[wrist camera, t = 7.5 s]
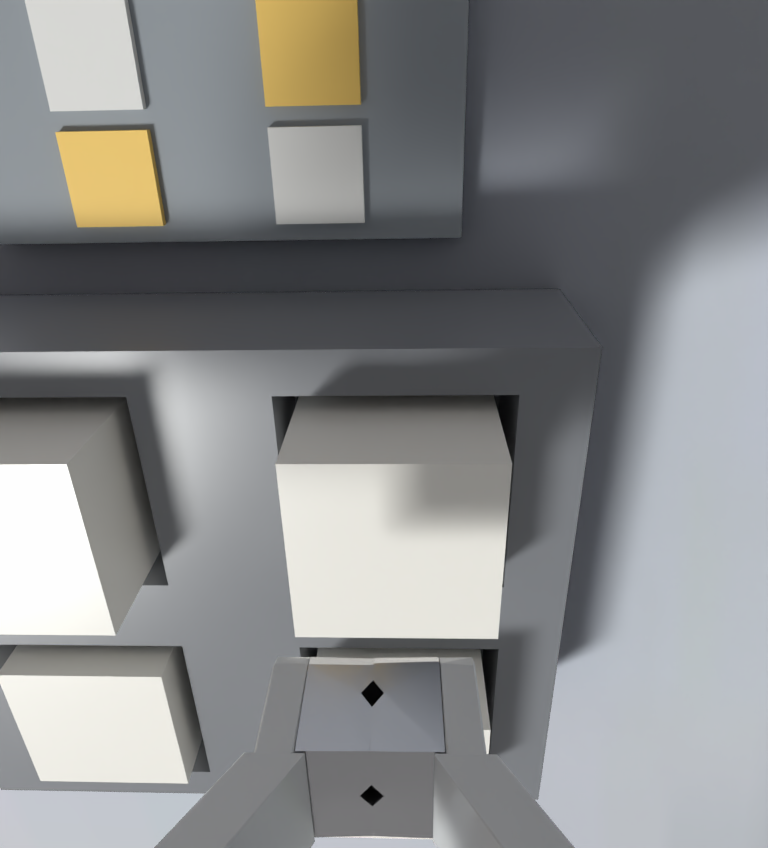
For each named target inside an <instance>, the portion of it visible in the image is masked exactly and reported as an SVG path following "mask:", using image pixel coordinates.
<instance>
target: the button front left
mask: <svg viewBox="0 0 768 848" xmlns="http://www.w3.org/2000/svg"><path fill="white" fill-rule="evenodd" d="M160 551H161V550H160V546H159V541H158V537H157V532H156V528H155V523H154V519H153V514H152V510H151V505H150V501H149V497H148V492H147V488H146V483H145V479H144V474H143V470H142V465H141V461H140V457H139V452H138V448H137V443H136V439H135V434H134V430H133V425H132V421H131V416H130V412H129V408H128V403H127V399H126V397H46V398H0V635H106V636H116V634H117V632H118V630H119V628H120V626H121V625H122V623H123V621H124V619H125V617H126V615H127V613H128V611H129V609H130V607H131V606H132V604H133V602H134V600H135V598H136V596H137V594H138V592H139V590H140V589H141V587H142V585H143V583H144V581H145V579H146V577H147V575H148V573H149V571H150V570H151V568H152V566H153V564H154V562H155V560H156V558H157V556H158V554H159V552H160Z"/></svg>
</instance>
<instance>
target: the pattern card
mask: <svg viewBox="0 0 768 848" xmlns="http://www.w3.org/2000/svg"><path fill="white" fill-rule="evenodd" d="M468 17H469V0H0V244H64V243H133V242H201V241H270V240H339V239H408V238H461V229H462V199H463V169H464V139H465V108H466V78H467V48H468Z"/></svg>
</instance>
